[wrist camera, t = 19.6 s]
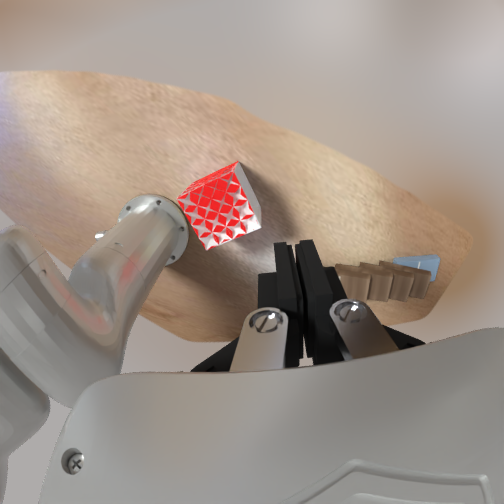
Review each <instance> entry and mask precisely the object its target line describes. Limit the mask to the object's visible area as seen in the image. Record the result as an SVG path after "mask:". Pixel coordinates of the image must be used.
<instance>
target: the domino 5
mask: <svg viewBox="0 0 504 504" xmlns="http://www.w3.org/2000/svg"><path fill="white" fill-rule="evenodd" d="M379 266H381V267H386V268H391V269H395V270H400V271H404V272H409V273H414V281H413V284H412V287H411V290H410V293H409V296H411V297H415V298H420V299H424V297H425V294H426V291H427V288H428V285H429V282H430V279H431V276H432V275H431V271H427V270H423V269H418V268H413V267H408V266H403V265H399V264H394V263H389V262H384V261H380V262H379Z"/></svg>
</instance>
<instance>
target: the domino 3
mask: <svg viewBox="0 0 504 504" xmlns="http://www.w3.org/2000/svg"><path fill="white" fill-rule="evenodd" d="M359 267H362V268H368V269H374V270H381V271H387V272H393V279H392V283H391V288H390V292H389V297H388V298H390V299H394V300H399V301H403V302H407V299H408V296H409V293H410V290H411V287H412V284H413V281H414V273H409V272H404V271H400V270H395V269H391V268H386V267H381V266H377V265H372V264H367V263H362V262H360V265H359Z"/></svg>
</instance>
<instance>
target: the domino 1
mask: <svg viewBox="0 0 504 504" xmlns="http://www.w3.org/2000/svg"><path fill="white" fill-rule="evenodd" d="M335 270H336V272H337V274H338V276H339V279H340V281H341V283H342V286H343V288H344V290H345V293H346V295H347V298H348V299H356V300H360V301H362V302H364V303H366V300H367V294H368V289H369V283H370V277H371V274H366V273H360V272H353V271H347V270H340V269H335Z"/></svg>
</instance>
